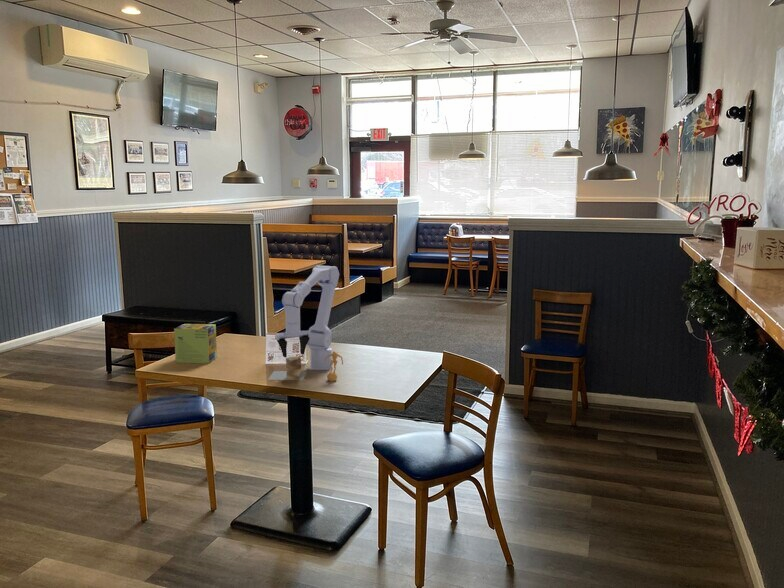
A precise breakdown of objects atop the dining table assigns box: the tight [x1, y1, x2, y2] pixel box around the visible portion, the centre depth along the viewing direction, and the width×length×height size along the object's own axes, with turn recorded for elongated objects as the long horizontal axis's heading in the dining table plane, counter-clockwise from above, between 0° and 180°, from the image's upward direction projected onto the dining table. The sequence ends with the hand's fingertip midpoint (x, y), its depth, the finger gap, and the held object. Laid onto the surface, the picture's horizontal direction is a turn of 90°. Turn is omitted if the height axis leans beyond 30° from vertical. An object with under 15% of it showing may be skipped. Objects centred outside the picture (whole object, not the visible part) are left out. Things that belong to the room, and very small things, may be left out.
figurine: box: [324, 350, 344, 382], centre depth 243 cm, size 8×6×12 cm
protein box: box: [173, 323, 218, 365], centre depth 272 cm, size 10×15×16 cm
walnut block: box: [285, 355, 302, 370], centre depth 245 cm, size 4×4×4 cm
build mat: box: [267, 370, 308, 381], centre depth 249 cm, size 14×12×1 cm
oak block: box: [286, 368, 302, 381], centre depth 246 cm, size 5×5×4 cm
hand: (293, 355), depth 245 cm, fingers open, 7 cm apart
